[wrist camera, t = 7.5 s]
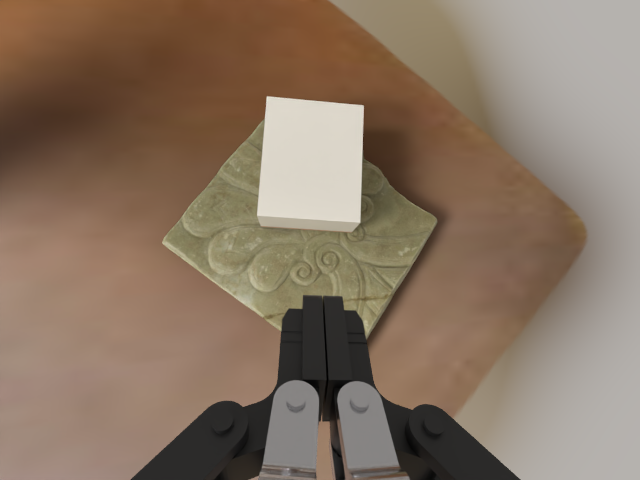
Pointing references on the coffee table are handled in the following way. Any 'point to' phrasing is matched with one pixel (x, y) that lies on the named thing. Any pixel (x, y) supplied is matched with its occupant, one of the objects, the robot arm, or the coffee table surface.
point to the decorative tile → (299, 244)
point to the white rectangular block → (311, 165)
